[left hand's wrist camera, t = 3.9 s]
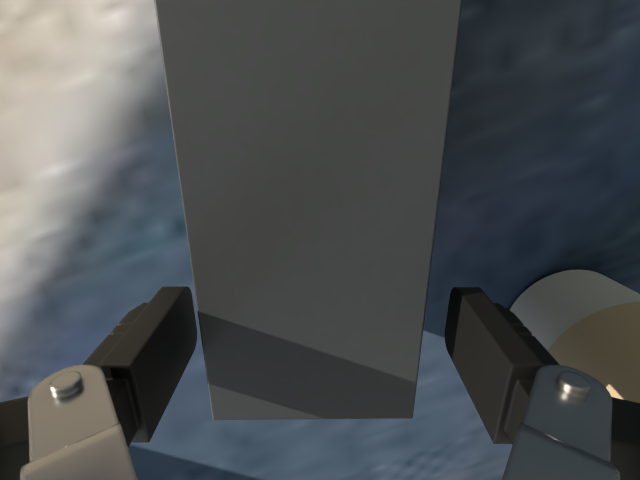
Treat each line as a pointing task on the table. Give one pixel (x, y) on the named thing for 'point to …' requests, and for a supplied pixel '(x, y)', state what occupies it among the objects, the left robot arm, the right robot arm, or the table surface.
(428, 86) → the box
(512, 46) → the table surface
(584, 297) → the coffee cup
